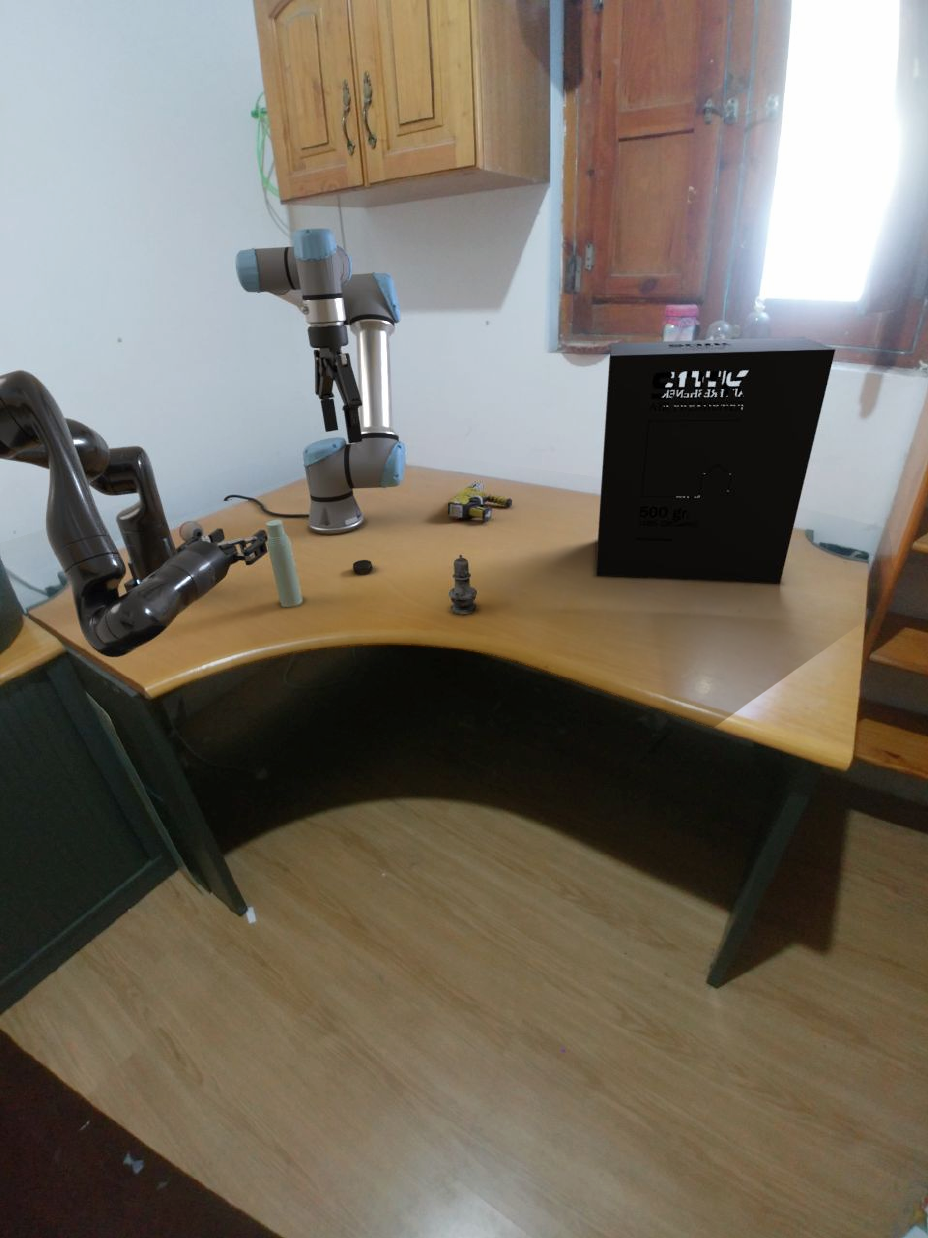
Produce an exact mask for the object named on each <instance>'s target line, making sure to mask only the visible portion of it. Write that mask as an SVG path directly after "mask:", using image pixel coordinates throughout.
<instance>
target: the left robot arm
mask: <svg viewBox="0 0 928 1238" xmlns="http://www.w3.org/2000/svg"><path fill="white" fill-rule="evenodd" d="M0 459H1V460H4V461H12V462H17V463H18V462H19V463H25V464H29V465H33V466H36V467H40V468H43V469H46V470H48V471H49V484H48V493H47V503H46V511H45V531H46V536H47V540H48V542H49V545H50V548H51V550H52V551H53V553H54V555H55V557H56V559H57V561H58V563H59V565H60V566H61V568H62V570H63V572H64V574H65V576H66V577H67V580H68V581H69V583H70V586H71V592H72V599H73V603H74V607H75V611H76V616H77V620H78V623H79V627H80V630H81V633H82V636H83V637H84V639H85V640H86V641H87V643H88V645H90V647H91V648H92V649H93V650H95V651H96V652H97V653H99V654H100V655H102V656H104V657H108V658H119V657H124V656H126V655H128V654H130V653H131V652H133V651H135V650H137V649H139V648H140V647H142V646H144V645H146V644H148V643H150V642H151V641H153V640H155V639H156V638H157V637H158V636H160V635H161V634H163V632H165V631H166V629H168V627H169V626H171V624H172V623H173V622H174V620H175V619H176V618H177V616H179V615H180V614H182V613H183V611H185V610H186V609H187V608H189V606H191V605H192V604H193V603H195V602H196V601H198V600H200V599H201V598H203V597H204V596H206V594H207V593H209V592H210V591H212V589H213V588H214V587H216V585H218V584H219V583H220V582H221V581H223V580H224V579H225V578H226V577H227V575H228V573H229V570H230V568H231V566H232V565H234V564H236V563H238V562H240V561H243V562H244V563H245V566H251V565H254V564H255V563H256V562H257V561H259V560H260V559H261V558H262V557H264V556H265V555H266V554H268V553H269V550H268V546H267V541H268V532H267V531H266V530H265V529H259V530H258V531H257V532H255V533H254V534H253V535H252V536H251V537H247V538H244V539H243V538H242V537H238V538H234V539H231V540H228V541H225V540H226V539H225V538H226V537H225V533H224V529H223V528H216V529H215V530H214V531H212V532H210V533H209V534H204V535H203V536H202V537H201V538H199V539H198V537H197V536H193V537H191V538H189V539H188V540H187V541H184V542H183V543H181V544H180V545H179V546H177V547H176V546H175V542H174V538H173V536H172V532H171V529H170V527H169V523H168V520H167V517H166V514H165V511H164V506H163V502H162V499H161V496H160V492H159V488H158V486H157V482H156V481H157V480H156V478H155V477H156V476H155V473H154V469H153V465H152V462H151V460H150V457H149V455H148V453H147V452H146V450H145V448H143V447H142V446H140V445H129V446H118V447H110V446H109V444H108V443H107V441H106V440H105V439H104V438H103V436H102V435H101V434H100V433H98V431H96V430H94V429H93V428H92V427H89V426H88V425H86V424H84V423H82V422H80V421H78V420H76V419H72V418H70V417H65V416H64V414H63V412H62V410H61V407H60V405H59V403H58V402H57V400H56V399H55V397H54V396H53V394H52V393H51V392H50V390H49V389H48V387H47V386H46V385H45V384H44V383H43V382H42V381H41V380H40V379H39V378H38V377H37V376H36V375H34V374H33V373H31V372H29V371H27V370H24V369H22V370H21V369H19V370H14V371H11V372H7V373H4V374H1V375H0ZM91 488H92V489H93V490H95V491H96V492H97V493H100V494H102V495H105V496H109V497H110V496H111V497H113V496H115V497H117V496H124V495H133V494H138V497H139V500H138V501H137V502H135V503H134V504H132V505H130V506H128V507H126V508H124V509H122V510H121V511H119V512H118V513H117V514H116V516H115V522H116V524H117V528H118V529H119V532H120V535H121V538H122V541H123V544H124V546H125V549H126V553H127V555H128V557H129V560H128V561H127V566H128V569H129V572H130V575H131V576H132V578H130V579H129V580H128V581H126V582H125V583H123V587H124V589H125V593H124V594H122V595H121V596H120V594H119V586H120V584H121V582H122V581H123V579H124V578H125V576H126V574H127V567H126V564H125V562H124V560H123V558H122V556H121V554H120V552H119V550H118V548H117V546H116V544H115V542H114V540H113V538H112V536H111V534H110V532H109V530H108V528H107V526H106V525H105V522H104V521H103V519H102V516H101V514H100V512H99V509H98V507H97V505H96V502H95V498H94V497H93V494H92V491H91ZM249 544H250V545H249ZM237 545H238V546H239V549H240V552H239V551H238V549H237ZM247 545H248V546H247Z"/></svg>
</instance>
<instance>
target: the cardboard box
mask: <svg viewBox="0 0 928 1238" xmlns="http://www.w3.org/2000/svg"><path fill="white" fill-rule="evenodd" d="M835 354H836V349H835V348H833V347H830V346H829V345H826V344H823V343H821V342H818V341H815V340H813V339H811V338H808V337H805V336H793V337H791V336H790V337H762V338H761V337H757V338H729V339H727V338H726V339H700V340H699V339H698V340H696V339H695V340H671V341H670V340H669V341H668V340H667V341H665V340H664V341H639V342H638V341H637V342H611V343H610V346H609V357H608V358H609V361H608V376H607V388H606V389H607V390H606V395H607V396H606V404H605V405H606V407H605V408H606V409H605V421H604V436H603V437H604V438H603V452H602V453H603V454H602V466H601V467H602V469H601V470H602V472H601V483H600V484H601V485H600V499H599V501H600V502H599V515H598V531H597V532H598V533H597V546H596V547H597V548H596V549H597V551H596V572H595V575H596V576H598V577H599V576H601V577H620V578H621V577H623V578H624V577H625V578H644V579H645V578H647V579H671V580H691V581H693V580H694V581H713V582H714V581H717V582H738V583H739V582H740V583H741V582H742V583H760V584H762V583H763V584H781V582H782V577H783V573H784V569H785V565H786V560H787V557H788V551H789V547H790V543H791V539H792V535H793V530H794V526H795V522H796V519H797V513H798V511H799V510H798V509H799V505H800V501H801V497H802V492H803V488H804V484H805V481H806V477H807V471H808V469H809V463H810V459H811V454H812V451H813V447H814V443H815V438H816V434H817V430H818V425H819V421H820V416H821V413H822V408H823V404H824V400H825V395H826V391H827V387H828V384H829V383H828V382H829V378H830V374H831V370H832V365H833V361H834V357H835ZM746 371H747V372H746ZM685 372H686V375H685V376H686V377H685V379H684V386H680V382H681V377H680V375H681V374H683V373H685ZM693 372H698V374H697V377H696V376H693ZM708 372H709V376H707V374H708ZM741 372H746V373H745V375H744V376H739V374H740V373H741ZM729 374H730V377H729V382H738V385H733V386H732V385H728V383H727V380H728V376H729ZM709 382H710V383H715V384H714V386H709ZM696 383H699V385H698V386H696ZM667 384H672V386H667Z"/></svg>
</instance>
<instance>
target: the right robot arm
mask: <svg viewBox="0 0 928 1238" xmlns="http://www.w3.org/2000/svg"><path fill="white" fill-rule="evenodd" d="M292 241H293V242H292V243H293V244H292V246H280V247H278V246H277V247H265V248H264V247H262V248H255V247H252V248H247V249H241V250H239V251H238V252H237V253H236V256H235V271H236V276H237V279H238V282H239V285H240V287H242V289H243V290H244V291H246V292H247V293H257V294H261V293H268V294H272V295H273V296H275V297H278V298H279V299H282V300H284V301H286V302H287V303H290V304H292V305H293V306H295V307H297V309H298V310H299V311H300V313H301V314H303V315H304V317H305V322H306V324H309V326H308V327H307V335H308V342H309V346H310V347H311V348H312V349H313V356H314V393H315V395H316V396H318V399H319V400H320V406H321V413H322V418H323V419H322V420H323V425H324V430H325V432H326V433H328V432H335V431H339V426H338V424H339V423H338V419H337V412H336V405H335V399H334V398H335V397H336V396H335V395H334V393H333V388H334V383H335V386H336V387H337V391H338V392H339V395H340V398H341V400H342V403H343V405H342V408H341V410H342V411H343V416H344V421H345V429H346V435H347V440H346V439H345V438H344V437H342V436H341V437H339V436H335V437H329V438H325V439H324V438H323V439H320V440H316V441H314V442H312V443H309V444H308V445H306V446H305V447H304V448H303V450H302V457H303V467H304V471H305V477H306V481H307V486H308V492H309V498H310V507H309V513H296V514H295V513H291V514H290V513H280V512H279V513H278V512H273V511H270V510H267V509H266V508H264V504H262V503H261V502H260V501H259V500H258V499H256V498H253V497H249V496H244V495H240V494H229V495H227V496H225V497H224V498H223V502H227V501H228V500H229V499H233V498H237V499H242V500H246V501H251V502H254V503H256V504H257V505H258V506H259V507H260V509H261V511H262V512H263V513H265V514H267V515H269V516H274V517H279V518H308V521H307V524H308V528H309V529H308V530H310V531H311V532H312V533H314V534H317V535H323V536H324V535H325V536H327V535H329V536H331V535H339V534H340V535H341V534H345V533H350V532H353V531H355V530H357V529H359V528H361V527H362V526H363V525H364V523H365V519H364V514H363V512H362V510H361V508H360V505H359V504H358V501H357V500H356V498H355V495H354V489H378V488H379V489H380V488H381V489H386V488H395V487H398V486H400V485H401V484H402V482H403V480H404V475H405V470H406V459H407V456H406V455H407V454H406V444H405V442H404V441H401V440H400V436H399V434H398V433H397V432H396V431H395V430H394V424H393V423H394V422H393V397H392V374H391V373H392V371H391V348H390V347H391V346H390V337H391V336H392V335H393V334H394V333H395V330H396V325H395V324H398V323H400V322H401V319H402V318H401V309H400V304H399V299H398V294H397V290H396V286H395V282H394V279H393V277H392V275H390V274H389V273H387V272H375V271H373V272H369V273H353V270H354V267H353V261H352V259H351V257H350V255H349V253H348V252H347V251H346V250H345V249H344V248H342V247H341V246H339V245H338V244H337V243H336V239H335V234H334V232H333V230H331V229H330V228H305V229H303V228H302V229H298V230H295V231H294V232H293V234H292ZM348 326H349V331H350V332H351V333H352V334H353V335H354V337H355V340H356V341H355V343H356V364H357V380H358V381H356V378H355V373H354V370H353V367H352V363H351V356H350V353H349V352H346V353H345V352H344V353H343V350H342V347H346V346H348V345H349V343H350V342H349V334H348ZM357 382H358V383H357Z"/></svg>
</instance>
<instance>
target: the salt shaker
mask: <svg viewBox="0 0 928 1238" xmlns="http://www.w3.org/2000/svg"><path fill="white" fill-rule="evenodd" d="M453 571H454V572H453V575H452V578H453V579H454V587H453V588H451V589H449V591H448V597H449V598H450V601H451V602H452V603H453V604H452V605H451V606H450V610H451V612H453V613H454V614H456V615H469V614H472V613H474V612H476V610H477V604H476V603H475V601H476V598H477V595H478V590H477V589H476V588H475V587H473V586H471V581H470V580H471V579H470V578H471V577H472V574H471V573H470V569H469V560H468V559H467V558H465V557H463V555H462V554H459V555H458V558H455V560H454V561H453Z"/></svg>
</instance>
